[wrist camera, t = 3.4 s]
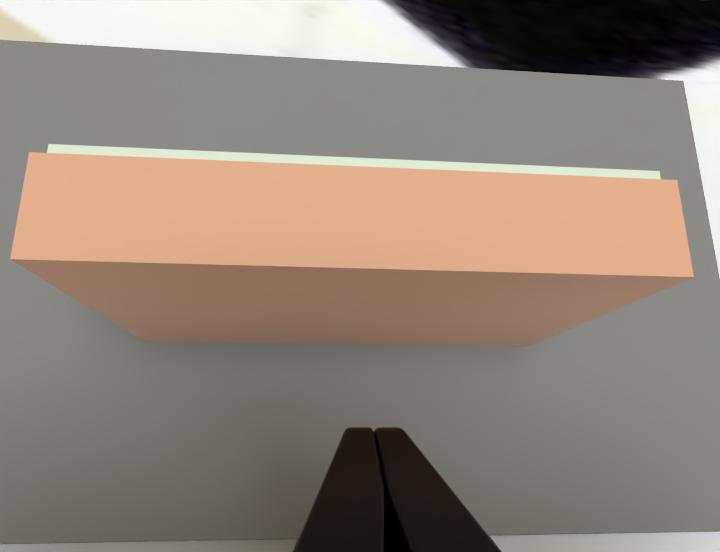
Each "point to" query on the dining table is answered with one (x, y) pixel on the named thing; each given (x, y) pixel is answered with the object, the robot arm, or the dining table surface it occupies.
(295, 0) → the dining table surface
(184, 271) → the tile
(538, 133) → the mat
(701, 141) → the dining table surface
